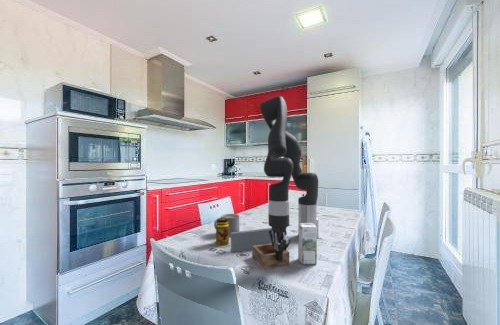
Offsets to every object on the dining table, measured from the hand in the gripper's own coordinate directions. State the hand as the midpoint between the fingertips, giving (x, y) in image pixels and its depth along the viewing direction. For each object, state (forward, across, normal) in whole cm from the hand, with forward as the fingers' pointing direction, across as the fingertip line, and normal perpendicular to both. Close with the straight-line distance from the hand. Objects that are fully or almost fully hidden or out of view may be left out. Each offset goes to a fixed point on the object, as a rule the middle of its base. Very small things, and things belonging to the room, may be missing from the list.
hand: (279, 260), depth 82 cm
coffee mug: (+3, +45, +8) cm, 46 cm away
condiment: (+3, +32, +14) cm, 35 cm away
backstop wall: (+3, +21, 0) cm, 21 cm away
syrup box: (+3, +1, -13) cm, 13 cm away
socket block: (+3, +7, 0) cm, 8 cm away
